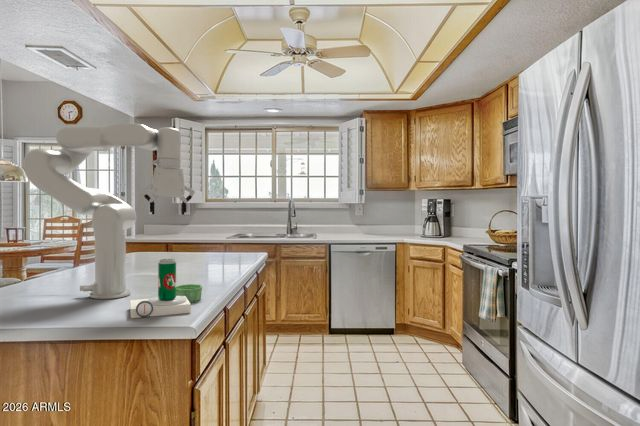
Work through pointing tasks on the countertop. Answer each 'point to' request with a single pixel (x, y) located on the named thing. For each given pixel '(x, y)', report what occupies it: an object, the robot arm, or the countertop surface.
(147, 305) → the scale
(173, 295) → the soda can
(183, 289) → the ramekin
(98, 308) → the countertop surface
